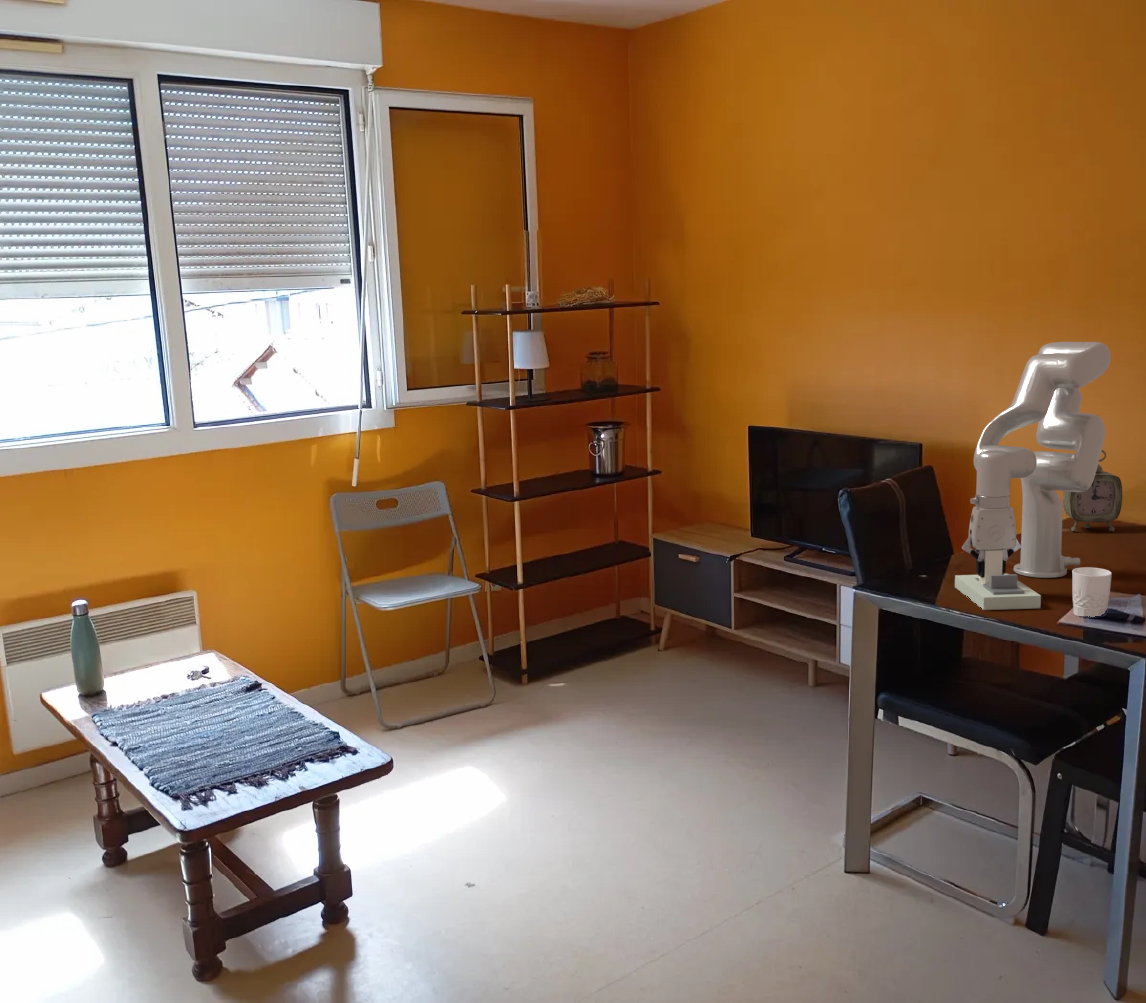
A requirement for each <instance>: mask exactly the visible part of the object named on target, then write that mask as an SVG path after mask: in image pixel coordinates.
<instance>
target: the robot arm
mask: <svg viewBox="0 0 1146 1003" xmlns="http://www.w3.org/2000/svg"><path fill="white" fill-rule="evenodd" d="M1111 356H1112V355H1111V351H1110V348H1109V347H1108V346H1107V345H1106V344H1105V343H1103V342H1098V341H1057V342H1056V341H1055V342H1049V343H1046V344H1044V345H1042V346H1041V347H1040V348H1039V350H1038V353H1037V354H1035V355H1032V356H1031V357H1030V358H1029V359H1028V361H1026V364H1025V367H1024V368H1023V372H1022V374H1021V377H1020V380H1019V383H1018V384H1017V388H1016V391H1015V393H1014V397H1013V399H1012V402H1011V404H1010V405H1009V407H1007V408H1006V409H1004V410H1003V411H1001V412H1000V413H998V414H997V415H996V416H995V417H994V418H993V419H991V421H990V422H989V423H987V424H986V426H985V427H984V429H983V430H982V432H981V434H980V437H979V439H978V442H977V445H976V447H975V449H974V450H975V451H974V454H973V466H974V469H975V470H976V486H975V487H976V491H975V496H974V497H970V500H969V502H970V504H971V505H972V504H974V506H973V508H972V510H971V515H970V521H969V528H968V537H967V539H966V540H965V542H964V543H963V545H962V546H961V549H962V550H963V551H964V552H966V553H968V554H970V556H972V557H973V558H974V559H975V573H976V575H979V576H980V577H981V578H983V577H984V571H985V562H984V561H983V557H984V553H985V550H1003V563H1002V575H1004V574H1005V573H1006V571H1007V569H1006V568H1007V567H1006V566H1007V561H1008V560H1009V558H1010V557H1011V556H1012V555H1013V554H1014V553H1016V552H1017V551H1018V550H1019V549H1020V563H1017V564H1015V565H1014V566H1013V571H1014V572H1015V574H1017V575H1021V576H1024V577H1031V578H1039V579H1041V578H1042V579H1052V578H1061V577H1064V576H1066V575H1067V574H1068V571H1067V570H1068V568H1066V567H1069V566H1080V565H1081V558H1080V557H1071V556H1064V555H1062V540H1063V539H1062V537H1063V521H1064V520H1063V519H1064V518H1063V516H1064V505H1063V501H1062V500H1061V497H1060V495H1059V494H1058V493H1057V491H1060V492H1061V491H1062V492H1063V491H1069V492H1084V491H1086V490H1088V489H1089V488H1090V486H1091V485H1092V483H1093V480H1094V477H1095V474H1096V470H1097V466H1098V464H1099V463H1100V462H1099V460H1100V459H1101V454H1102V452H1101V451H1102V450H1103V447H1104V443H1105V439H1106V427H1105V423H1104V420H1103V419H1102V418H1101V416H1100V415H1099V416H1098V415H1097V414H1094V413H1087V412H1086V413H1085V412H1080V409H1081V405H1082V402H1083V401H1082V400H1083V396H1082V391H1081V389H1080V388H1083V387H1086V386H1088V385H1089V384H1091V382H1093V381H1095V380H1096V379H1098V378H1100V377H1101V376H1102V375H1104V374H1105V372H1107V370H1108V368H1109V366H1110V364H1111V358H1112V357H1111ZM1037 423H1038V424H1037ZM1033 424H1037V429H1036V432H1035V433H1036V436H1035V437H1036V442H1037V444H1038V445H1040V446H1041V447H1043V448H1047V449H1051V450H1052V449H1053V450H1064V451H1075V452H1074V453H1070V452H1069V453H1067V452H1058V451H1044V450H1042V451H1041V450H1039V451H1038V450H1037V451H1032V450H1031V449H1029V448H1026V447H1022V446H1011V445H1000V444H999V443H1000V442H1001V441H1002V439H1004V438H1005V437H1006V436H1007V435H1009V434H1010V433H1012V432H1014V431H1016V430H1018V429H1021V428H1025V427H1026V426H1030V425H1033ZM1011 479H1020V483H1021V491H1022V493H1021V495H1022V507H1021V508H1022V512H1021V533H1020V534H1021V537H1020V539H1021V540H1020V541H1021V542H1019V541H1018V539H1017V529H1016V527H1017V525H1016V518H1015V517H1016V516H1015V511H1014V507H1011V506H1010V505H1011V504H1010V502H1011V499H1010V498H1011V497H1010V496H1011ZM971 546H972V547H973V548H974V549H975V550H974V549H973V548H971Z"/></svg>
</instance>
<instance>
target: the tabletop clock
mask: <svg viewBox="0 0 1146 1003" xmlns="http://www.w3.org/2000/svg"><path fill="white" fill-rule="evenodd" d="M1101 453H1103V455H1104V456H1103V457H1102V458H1100V459H1099V462H1098V466H1097V470H1096V474H1095V477H1094V480H1093V483H1092V485H1091V486H1090V488H1089V489H1088V490H1086V491H1084V492H1069V491H1062V492H1063V493H1062V505H1063V511H1064V512H1065V514H1066V516H1068V517H1069V518H1071V519H1073V520H1075V521H1074V524H1073V526H1071V528H1070V531H1071V532H1072V531H1075V532H1076V531H1077V529H1078V528H1077V525H1078V524H1079V522H1082V523H1083V522H1085V523H1086V524H1084V529H1086V528H1089V529H1090V528H1091V527H1092V526H1091V524H1090V523H1101V522H1102V523H1104V522H1105V523H1106V524H1107V526H1108V531H1109V532H1110V531H1113V532H1114V531H1115V530H1116V528H1115V527H1114V526H1112V525H1111V523H1110V522H1112V521H1115V520H1116V519H1118V518H1119V516H1120V513H1121V509H1122V505H1123V504H1122V503H1123V486H1122V484H1123V483H1122V481H1121V478H1120V477H1119V476H1118V475H1115V474H1112V473H1111V472H1108V471H1104V470H1103V467H1102V465H1101V464H1099V463H1100V462H1103V461H1104V460H1105V459H1106V458H1107V453H1106V451H1104V450H1103V449H1102V451H1101Z"/></svg>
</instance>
